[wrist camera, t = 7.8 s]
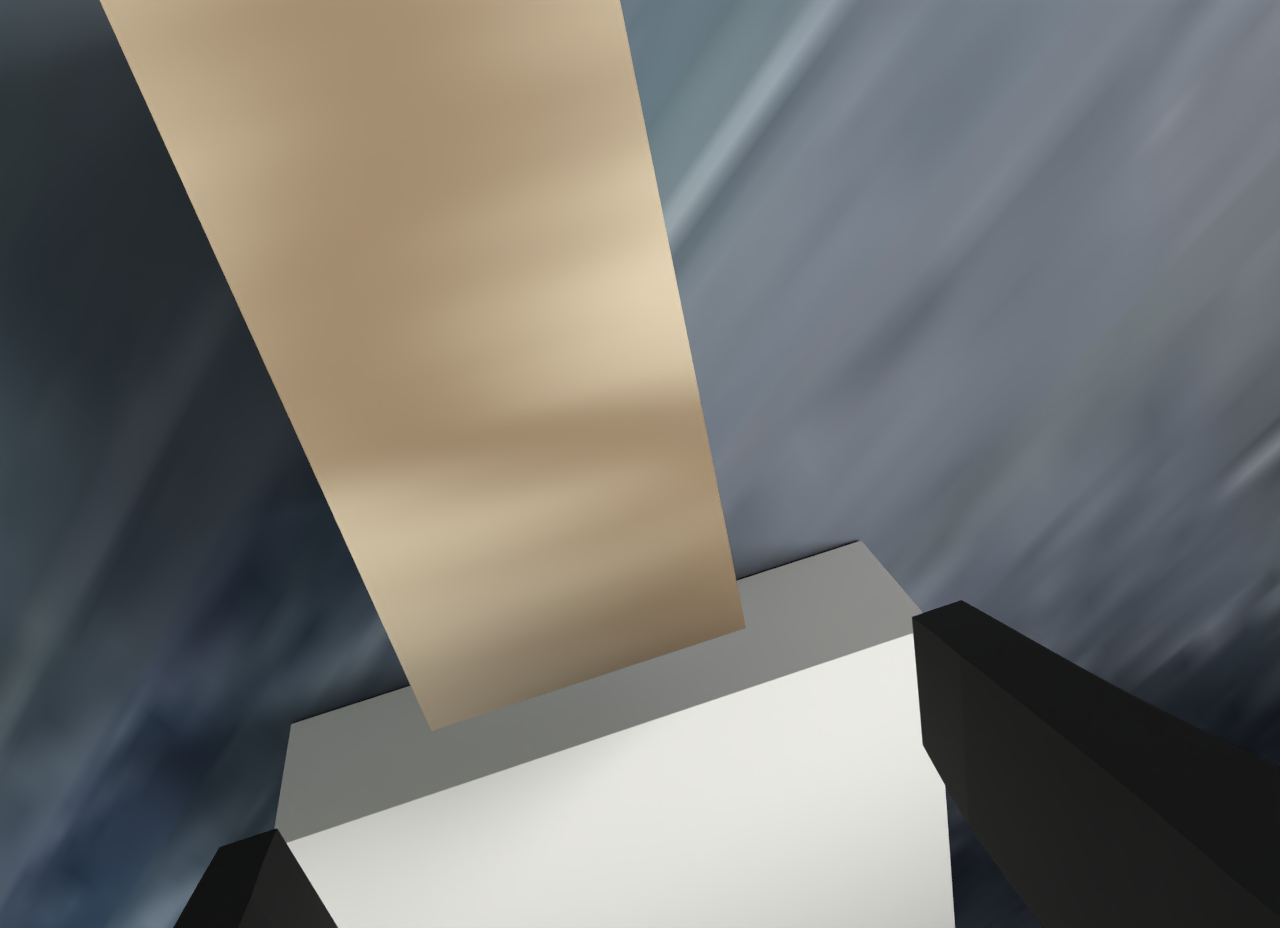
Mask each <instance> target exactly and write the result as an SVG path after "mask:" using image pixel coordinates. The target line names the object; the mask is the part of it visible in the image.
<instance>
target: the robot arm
mask: <svg viewBox="0 0 1280 928" xmlns="http://www.w3.org/2000/svg"><path fill="white" fill-rule="evenodd" d="M912 626H913V637H914V649H915V661H916V673H917V685H918V696H919V708H920V720H921V732H922V743H923V747H924V748H925V750H926V752H927V754H928V756H929V757H930V759H931V761H932V763H933V765H934V766H935V768H936V770H937V772H938V774H939V775H940V777H941V779H942V781H943V783H944V784H945V786H946V788H947V790H948V791H949V793H950V795H951V797H952V798H953V800H954V802H955V803H956V805H957V807H958V809H959V810H960V812H961V814H962V815H963V817H964V819H965V820H966V822H967V824H968V826H969V827H970V828H971V830H972V831H973V833H974V834H975V835H976V837H977V838H978V840H979V841H980V842H981V844H982V845H983V847H984V848H985V849H986V851H987V852H988V854H989V855H990V856H991V858H992V859H993V860H994V862H995V863H996V865H997V866H998V867H999V869H1000V870H1001V871H1002V873H1003V874H1004V876H1005V877H1006V878H1007V880H1008V881H1009V882H1010V884H1011V885H1012V887H1013V888H1014V889H1015V891H1016V892H1017V893H1018V895H1019V896H1020V897H1021V899H1022V900H1023V902H1024V903H1025V904H1026V906H1027V907H1028V908H1029V910H1030V911H1031V912H1032V914H1033V915H1034V917H1035V918H1036V919H1037V921H1038V922H1039V923H1040V925H1041V926H1042V927H1043V928H1280V766H1278V765H1275V764H1273V763H1271V762H1269V761H1266V760H1264V759H1262V758H1260V757H1258V756H1256V755H1254V754H1251V753H1249V752H1247V751H1245V750H1243V749H1241V748H1239V747H1237V746H1234V745H1232V744H1230V743H1228V742H1226V741H1224V740H1222V739H1219V738H1217V737H1215V736H1213V735H1211V734H1209V733H1207V732H1205V731H1202V730H1200V729H1198V728H1196V727H1194V726H1192V725H1190V724H1188V723H1186V722H1184V721H1182V720H1180V719H1178V718H1176V717H1174V716H1172V715H1170V714H1168V713H1166V712H1164V711H1162V710H1160V709H1158V708H1156V707H1154V706H1153V705H1151V704H1149V703H1147V702H1145V701H1143V700H1141V699H1139V698H1137V697H1135V696H1133V695H1132V694H1130V693H1128V692H1126V691H1124V690H1122V689H1120V688H1118V687H1116V686H1114V685H1113V684H1111V683H1109V682H1107V681H1105V680H1103V679H1101V678H1099V677H1098V676H1096V675H1094V674H1092V673H1090V672H1088V671H1087V670H1085V669H1083V668H1081V667H1079V666H1078V665H1076V664H1074V663H1072V662H1070V661H1069V660H1067V659H1065V658H1063V657H1061V656H1060V655H1058V654H1056V653H1054V652H1052V651H1051V650H1049V649H1047V648H1045V647H1044V646H1042V645H1040V644H1038V643H1037V642H1035V641H1033V640H1031V639H1029V638H1028V637H1026V636H1024V635H1022V634H1021V633H1019V632H1017V631H1015V630H1014V629H1012V628H1010V627H1008V626H1007V625H1005V624H1003V623H1001V622H999V621H998V620H996V619H994V618H992V617H991V616H989V615H987V614H985V613H984V612H982V611H980V610H978V609H976V608H975V607H973V606H971V605H969V604H967V603H966V602H964V601H962V600H961V601H958V602H955V603H952V604H949V605H946V606H943V607H940V608H937V609H934V610H931V611H928V612H925V613H922V614H919V615H916V616H913V617H912ZM174 928H338V926H337V925H336V923H335V922H334V920H333V918H332V917H331V915H330V913H329V912H328V910H327V909H326V907H325V905H324V904H323V902H322V900H321V899H320V897H319V895H318V894H317V892H316V891H315V889H314V887H313V886H312V884H311V882H310V881H309V879H308V878H307V876H306V874H305V873H304V871H303V869H302V868H301V866H300V864H299V863H298V861H297V860H296V858H295V856H294V855H293V853H292V851H291V850H290V848H289V847H288V845H287V843H286V842H285V840H284V838H283V837H282V835H281V833H280V832H279V830H278V829H277V828H276V829H273V830H270V831H267V832H264V833H261V834H258V835H255V836H252V837H249V838H246V839H243V840H240V841H237V842H234V843H231V844H228V845H225V846H222V847H219V849H218V851H217V853H216V854H215V856H214V858H213V859H212V861H211V863H210V865H209V866H208V868H207V870H206V871H205V873H204V875H203V877H202V878H201V880H200V882H199V883H198V885H197V887H196V889H195V890H194V892H193V894H192V896H191V897H190V899H189V901H188V903H187V905H186V906H185V908H184V910H183V912H182V913H181V915H180V917H179V919H178V920H177V922H176V924H175V926H174Z"/></svg>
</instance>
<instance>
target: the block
mask: <svg viewBox="0 0 1280 928" xmlns="http://www.w3.org/2000/svg"><path fill="white" fill-rule="evenodd" d="M100 2H101V4H102V6H103V8H104V11H105V13H106V15H107V17H108V20H109V22H110V24H111V26H112V28H113V31H114V33H115V35H116V37H117V39H118V42H119V44H120V46H121V48H122V50H123V53H124V55H125V57H126V59H127V61H128V64H129V66H130V68H131V70H132V72H133V75H134V77H135V79H136V81H137V83H138V86H139V88H140V90H141V92H142V94H143V97H144V99H145V101H146V103H147V105H148V108H149V110H150V112H151V114H152V116H153V119H154V121H155V123H156V125H157V128H158V130H159V132H160V134H161V136H162V139H163V141H164V143H165V145H166V147H167V150H168V152H169V154H170V156H171V158H172V161H173V163H174V165H175V167H176V169H177V172H178V174H179V176H180V178H181V180H182V183H183V185H184V187H185V189H186V191H187V194H188V196H189V198H190V200H191V202H192V205H193V207H194V209H195V211H196V213H197V216H198V218H199V220H200V222H201V224H202V227H203V229H204V231H205V233H206V235H207V238H208V240H209V242H210V244H211V247H212V249H213V251H214V253H215V255H216V258H217V260H218V262H219V264H220V266H221V269H222V271H223V273H224V275H225V277H226V280H227V282H228V284H229V286H230V288H231V291H232V293H233V295H234V297H235V299H236V302H237V304H238V306H239V308H240V310H241V313H242V315H243V317H244V319H245V321H246V324H247V326H248V328H249V330H250V332H251V335H252V337H253V339H254V341H255V343H256V346H257V348H258V350H259V352H260V354H261V357H262V359H263V361H264V363H265V366H266V368H267V370H268V372H269V374H270V377H271V379H272V381H273V383H274V385H275V388H276V390H277V392H278V394H279V396H280V399H281V401H282V403H283V405H284V407H285V410H286V412H287V414H288V416H289V418H290V421H291V423H292V425H293V427H294V429H295V432H296V434H297V436H298V438H299V440H300V443H301V445H302V447H303V449H304V451H305V454H306V456H307V458H308V460H309V462H310V465H311V467H312V469H313V471H314V474H315V476H316V478H317V480H318V482H319V485H320V487H321V489H322V491H323V493H324V496H325V498H326V500H327V502H328V504H329V507H330V509H331V511H332V513H333V515H334V518H335V520H336V522H337V524H338V526H339V529H340V531H341V533H342V535H343V537H344V540H345V542H346V544H347V546H348V548H349V551H350V553H351V555H352V557H353V559H354V562H355V564H356V566H357V568H358V570H359V573H360V575H361V577H362V579H363V581H364V584H365V586H366V588H367V590H368V593H369V595H370V597H371V599H372V601H373V604H374V606H375V608H376V610H377V612H378V615H379V617H380V619H381V621H382V623H383V626H384V628H385V630H386V632H387V634H388V637H389V639H390V641H391V643H392V645H393V648H394V650H395V652H396V654H397V656H398V659H399V661H400V663H401V665H402V667H403V670H404V672H405V674H406V676H407V678H408V681H409V683H410V685H411V687H412V689H413V692H414V694H415V696H416V698H417V700H418V703H419V705H420V707H421V709H422V712H423V714H424V716H425V718H426V720H427V723H428V725H429V727H430V729H431V731H434V730H437V729H440V728H443V727H446V726H449V725H452V724H455V723H458V722H461V721H464V720H467V719H470V718H473V717H476V716H479V715H482V714H485V713H488V712H492V711H495V710H498V709H501V708H504V707H507V706H510V705H513V704H516V703H519V702H522V701H525V700H528V699H531V698H534V697H537V696H540V695H543V694H546V693H550V692H553V691H556V690H559V689H562V688H565V687H568V686H571V685H574V684H577V683H580V682H583V681H586V680H589V679H592V678H595V677H598V676H601V675H604V674H608V673H611V672H614V671H617V670H620V669H623V668H626V667H629V666H632V665H635V664H638V663H641V662H644V661H647V660H650V659H653V658H656V657H659V656H662V655H666V654H669V653H672V652H675V651H678V650H681V649H684V648H687V647H690V646H693V645H696V644H699V643H702V642H705V641H708V640H711V639H714V638H717V637H720V636H724V635H727V634H730V633H733V632H736V631H739V630H742V629H745V628H746V626H745V621H744V616H743V611H742V606H741V601H740V596H739V591H738V586H737V581H736V576H735V571H734V566H733V561H732V556H731V551H730V546H729V541H728V536H727V531H726V526H725V521H724V516H723V511H722V506H721V501H720V496H719V491H718V486H717V481H716V476H715V471H714V466H713V461H712V457H711V452H710V447H709V442H708V437H707V432H706V427H705V422H704V417H703V412H702V407H701V402H700V397H699V392H698V387H697V382H696V377H695V372H694V367H693V362H692V357H691V352H690V347H689V342H688V337H687V332H686V327H685V322H684V317H683V312H682V307H681V302H680V297H679V292H678V287H677V282H676V277H675V272H674V267H673V262H672V258H671V253H670V248H669V243H668V238H667V233H666V228H665V223H664V218H663V213H662V208H661V203H660V198H659V193H658V188H657V183H656V178H655V173H654V168H653V163H652V158H651V153H650V148H649V143H648V138H647V133H646V128H645V123H644V118H643V113H642V108H641V103H640V98H639V93H638V88H637V83H636V78H635V73H634V68H633V63H632V58H631V54H630V49H629V44H628V39H627V34H626V29H625V24H624V19H623V14H622V9H621V4H620V0H100Z"/></svg>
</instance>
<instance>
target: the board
mask: <svg viewBox="0 0 1280 928" xmlns="http://www.w3.org/2000/svg"><path fill="white" fill-rule="evenodd" d="M737 586H738V591H739V596H740V601H741V606H742V611H743V616H744V621H745V626H746V628H745V629H742V630H739V631H736V632H733V633H730V634H727V635H724V636H720V637H717V638H714V639H711V640H708V641H705V642H702V643H699V644H696V645H693V646H690V647H687V648H684V649H681V650H678V651H675V652H672V653H669V654H666V655H662V656H659V657H656V658H653V659H650V660H647V661H644V662H641V663H638V664H635V665H632V666H629V667H626V668H623V669H620V670H617V671H614V672H611V673H608V674H604V675H601V676H598V677H595V678H592V679H589V680H586V681H583V682H580V683H577V684H574V685H571V686H568V687H565V688H562V689H559V690H556V691H553V692H550V693H546V694H543V695H540V696H537V697H534V698H531V699H528V700H525V701H522V702H519V703H516V704H513V705H510V706H507V707H504V708H501V709H498V710H495V711H492V712H488V713H485V714H482V715H479V716H476V717H473V718H470V719H467V720H464V721H461V722H458V723H455V724H452V725H449V726H446V727H443V728H440V729H437V730H434V731H431V729H430V727H429V725H428V723H427V720H426V718H425V716H424V714H423V712H422V709H421V707H420V705H419V703H418V700H417V698H416V696H415V694H414V692H413V689H412V687H411V686H408V687H405V688H402V689H399V690H396V691H393V692H390V693H386V694H383V695H380V696H377V697H374V698H371V699H368V700H365V701H362V702H358V703H355V704H352V705H349V706H346V707H343V708H340V709H337V710H334V711H331V712H327V713H324V714H321V715H318V716H315V717H312V718H309V719H306V720H303V721H299V722H296V723H293V724H291V729H290V735H289V741H288V747H287V753H286V760H285V766H284V772H283V778H282V784H281V791H280V797H279V803H278V809H277V815H276V821H275V828H274V829H276V828H277V829H278V830H279V832H280V833H281V835H282V837H283V838H284V840H285V842H286V843H287V845H288V847H289V848H290V850H291V851H292V853H293V855H294V856H295V858H296V860H297V861H298V863H299V864H300V866H301V868H302V869H303V871H304V873H305V874H306V876H307V878H308V879H309V881H310V882H311V884H312V886H313V887H314V889H315V891H316V892H317V894H318V895H319V897H320V899H321V900H322V902H323V904H324V905H325V907H326V909H327V910H328V912H329V913H330V915H331V917H332V918H333V920H334V922H335V923H336V925H337V926H338V928H955V920H954V905H953V891H952V877H951V862H950V848H949V834H948V819H947V805H946V791H945V784H944V783H943V781H942V779H941V777H940V775H939V774H938V772H937V770H936V768H935V766H934V765H933V763H932V761H931V759H930V757H929V756H928V754H927V752H926V750H925V748H924V747H923V743H922V732H921V720H920V708H919V696H918V685H917V673H916V661H915V649H914V637H913V626H912V617H913V616H916V615H919V614H922V611H921V610H920V609H919V608H918V607H917V606H916V604H915V603H914V602H913V601H912V600H911V598H910V597H909V596H908V595H907V594H906V593H905V591H904V590H903V589H902V588H901V587H900V586H899V584H898V583H897V582H896V581H895V580H894V579H893V577H892V576H891V575H890V574H889V573H888V572H887V570H886V569H885V568H884V567H883V566H882V564H881V563H880V562H879V561H878V560H877V559H876V557H875V556H874V555H873V554H872V553H871V552H870V550H869V549H868V548H867V547H866V546H865V545H864V543H863V542H862V541H858V542H855V543H852V544H849V545H846V546H843V547H840V548H837V549H833V550H830V551H827V552H824V553H821V554H818V555H815V556H812V557H809V558H806V559H802V560H799V561H796V562H793V563H790V564H787V565H784V566H781V567H778V568H774V569H771V570H768V571H765V572H762V573H759V574H756V575H753V576H750V577H747V578H743V579H740V580H737Z"/></svg>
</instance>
